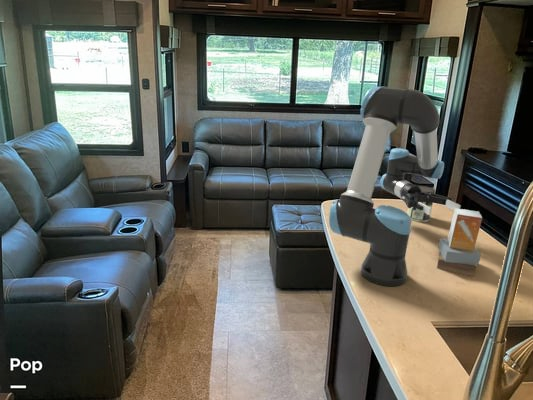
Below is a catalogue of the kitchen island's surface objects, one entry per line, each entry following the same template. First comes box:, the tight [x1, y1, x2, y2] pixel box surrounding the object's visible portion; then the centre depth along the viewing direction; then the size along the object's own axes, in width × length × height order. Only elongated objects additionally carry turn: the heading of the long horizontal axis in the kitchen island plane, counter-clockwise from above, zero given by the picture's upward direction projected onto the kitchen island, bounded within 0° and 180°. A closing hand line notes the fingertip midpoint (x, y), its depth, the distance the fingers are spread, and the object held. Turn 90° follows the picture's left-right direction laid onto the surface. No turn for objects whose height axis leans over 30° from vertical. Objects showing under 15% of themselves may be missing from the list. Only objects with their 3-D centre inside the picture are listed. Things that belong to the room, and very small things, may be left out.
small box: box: [447, 208, 483, 251], centre depth 148 cm, size 8×6×13 cm
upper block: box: [437, 237, 481, 267], centre depth 151 cm, size 11×11×4 cm
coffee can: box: [406, 185, 436, 223], centre depth 192 cm, size 10×10×14 cm
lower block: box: [436, 251, 477, 277], centre depth 152 cm, size 12×12×4 cm
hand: (445, 210), depth 155 cm, fingers open, 13 cm apart
